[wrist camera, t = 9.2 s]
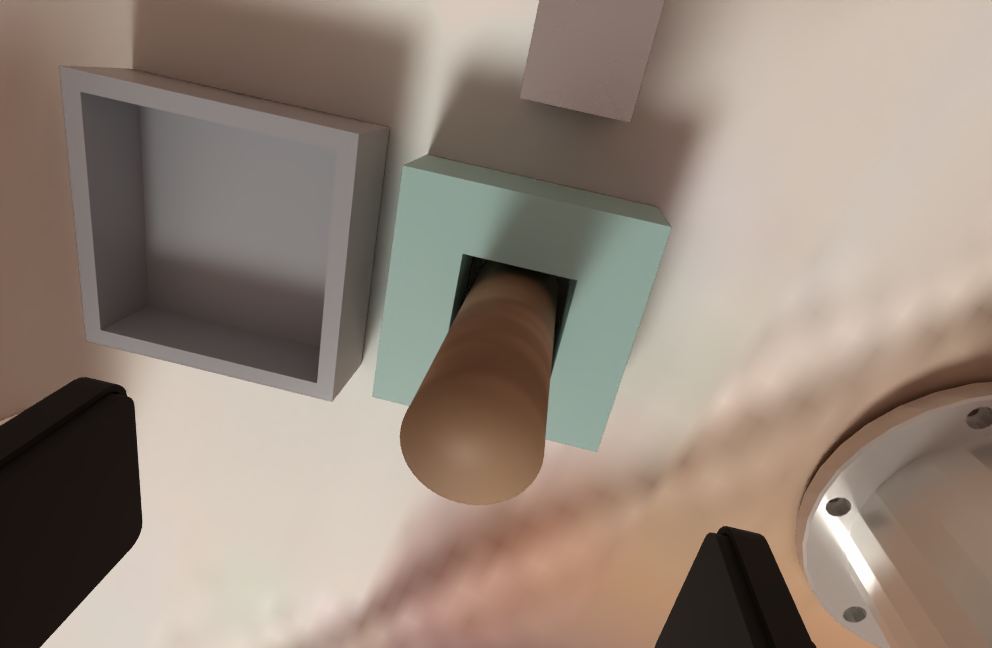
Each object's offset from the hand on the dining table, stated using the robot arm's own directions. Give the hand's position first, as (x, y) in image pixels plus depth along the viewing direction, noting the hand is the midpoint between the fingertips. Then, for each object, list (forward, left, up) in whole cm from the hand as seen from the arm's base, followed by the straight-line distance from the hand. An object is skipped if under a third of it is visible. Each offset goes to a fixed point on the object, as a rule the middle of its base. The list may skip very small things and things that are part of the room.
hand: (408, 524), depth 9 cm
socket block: (-1, 0, -13) cm, 13 cm away
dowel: (-1, 0, -13) cm, 13 cm away
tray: (+9, 0, -13) cm, 16 cm away
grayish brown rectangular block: (-1, -9, -13) cm, 16 cm away
